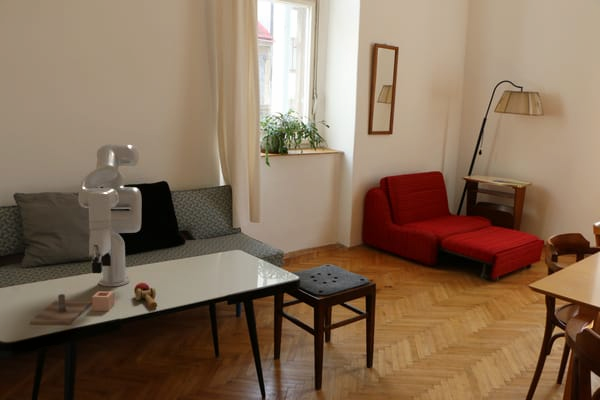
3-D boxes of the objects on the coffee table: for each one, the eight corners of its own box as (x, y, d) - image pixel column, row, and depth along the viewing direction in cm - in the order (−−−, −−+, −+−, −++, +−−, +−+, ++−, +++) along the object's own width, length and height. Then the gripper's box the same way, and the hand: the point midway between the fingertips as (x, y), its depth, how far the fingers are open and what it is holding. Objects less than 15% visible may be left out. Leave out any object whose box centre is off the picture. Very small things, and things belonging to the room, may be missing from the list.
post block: (55, 303, 205) (54, 285, 204) (91, 303, 205) (91, 286, 204) (30, 323, 185) (28, 304, 184) (70, 324, 186) (69, 305, 184)
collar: (98, 305, 204) (98, 291, 203) (114, 305, 204) (113, 291, 203) (92, 310, 198) (92, 296, 197) (108, 311, 198) (108, 297, 197)
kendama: (165, 310, 205) (150, 290, 219) (162, 296, 202) (148, 276, 217) (145, 317, 201) (132, 296, 215) (142, 302, 199) (129, 282, 213)
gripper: (98, 220, 204) (100, 263, 207) (80, 229, 187) (82, 275, 190) (118, 220, 204) (119, 263, 207) (102, 229, 187) (103, 276, 190)
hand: (101, 269), depth 198 cm, fingers open, 9 cm apart
